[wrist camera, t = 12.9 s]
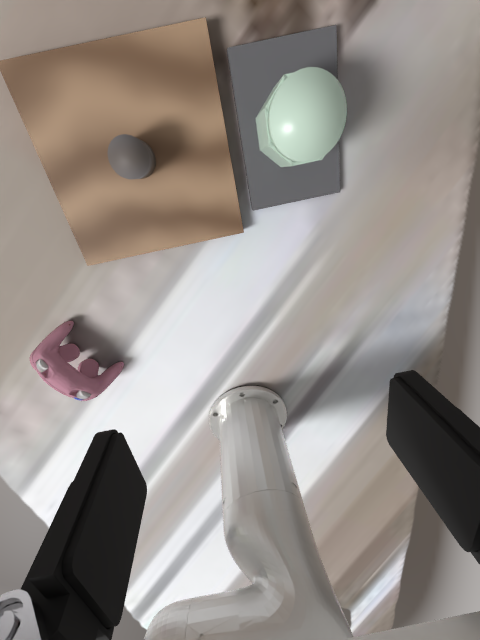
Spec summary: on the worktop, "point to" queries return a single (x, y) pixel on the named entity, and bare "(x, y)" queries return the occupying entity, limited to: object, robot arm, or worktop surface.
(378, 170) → the worktop surface
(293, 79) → the cap
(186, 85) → the post stand
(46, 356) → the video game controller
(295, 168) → the mat
